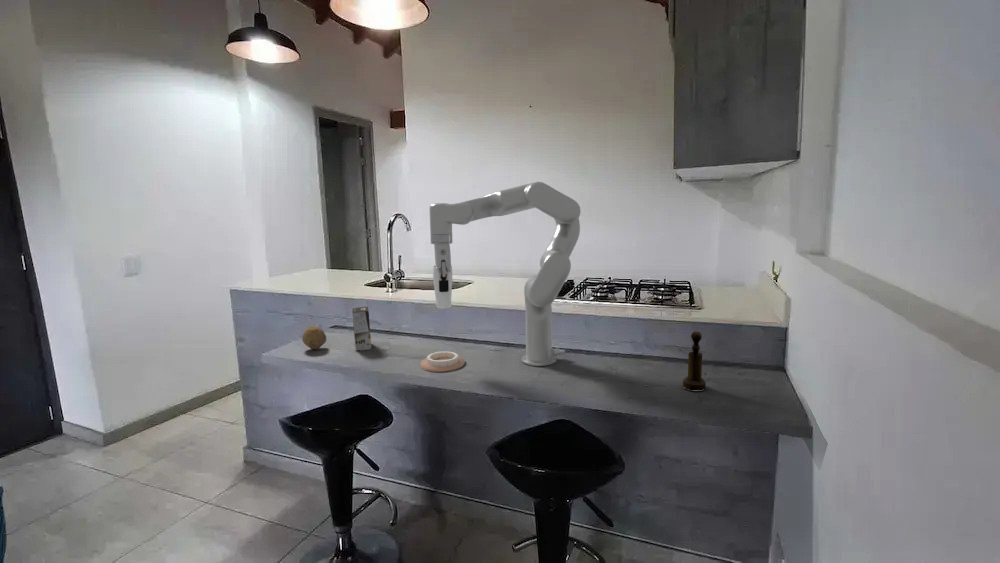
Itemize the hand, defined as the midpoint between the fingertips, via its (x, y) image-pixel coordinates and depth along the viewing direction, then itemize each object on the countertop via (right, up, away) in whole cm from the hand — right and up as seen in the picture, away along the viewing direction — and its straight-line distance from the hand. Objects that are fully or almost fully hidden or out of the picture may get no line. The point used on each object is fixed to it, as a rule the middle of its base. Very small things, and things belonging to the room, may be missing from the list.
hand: (443, 289), depth 170 cm
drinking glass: (0, -7, +1) cm, 7 cm away
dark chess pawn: (+80, -30, -21) cm, 88 cm away
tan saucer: (-1, -27, +6) cm, 28 cm away
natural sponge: (-56, -25, +27) cm, 67 cm away
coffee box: (-36, -25, +29) cm, 52 cm away
